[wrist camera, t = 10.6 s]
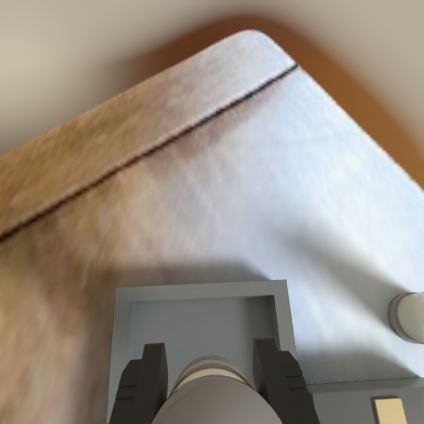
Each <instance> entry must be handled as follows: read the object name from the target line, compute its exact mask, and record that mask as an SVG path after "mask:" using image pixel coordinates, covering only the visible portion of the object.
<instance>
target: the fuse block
mask: <svg viewBox="0 0 424 424" xmlns="http://www.w3.org/2000/svg"><path fill="white" fill-rule="evenodd" d="M306 386H307V390H308V391H309V394H310V397H311V399H312V402H313V405H314V408H315V410H316V413H317V416H318V419H319V421H320V424H424V378H422V377H420V378H404V379H388V380H372V381H356V382H340V383H324V384H308V385H306Z"/></svg>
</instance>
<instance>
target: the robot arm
mask: <svg viewBox="0 0 424 424" xmlns="http://www.w3.org/2000/svg"><path fill="white" fill-rule="evenodd" d="M252 366H253V378H254V384H255V390H256V391H257V392H258V393H259V394H260V395H261V396H262V397H263V398H264V399H265V401H266V402H267V403H268V404H269V405H270V406H271V408H272V409H273V410H274V411H275V413H276V414H277V416H278V417H279V419H280V420H281V422H282V424H320V421H319V419H318V416H317V413H316V410H315V408H314V405H313V402H312V399H311V397H310V394H309V391H308V390H307V386H306V383H305V380H304V378H303V375H302V372H301V369H300V366H299V364H298V361H297V360H296V359H295V358H294V357H293V356H292V354H291V353H290V352H289V351H278V350H277V347H276V344H275V340H274V338H273V337H256V338H254V340H253V364H252ZM167 392H168V366H167V358H166V349H165V343H148V344H145V345H144V349H143V355H142V359H134V360H130V361H129V363H128V364H127V366H126V367H125V369H124V370H123V371H122V374H121V378H120V382H119V386H118V390H117V393H116V397H115V402H114V405H113V409H112V413H111V417H110V421H109V424H152V422H153V420H154V418H155V417H156V415H157V413H158V411H159V410H160V408H161V406H162V405H163V404H164V402H165V401H166V400H167Z"/></svg>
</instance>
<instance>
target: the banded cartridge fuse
mask: <svg viewBox="0 0 424 424" xmlns="http://www.w3.org/2000/svg"><path fill="white" fill-rule="evenodd" d="M152 424H282V422H281V420H280V419H279V417H278V416H277V414H276V413H275V411H274V410H273V409H272V408H271V406H270V405H269V404H268V403H267V402H266V401H265V399H264V398H263V397H262V396H261V395H260V394H259V393H258V392H257V391H256V390H255V389H253V388H252V386H251V385H250V384H249V383H248V381H247V380H246V379H245V377H244V375H243V374H242V372H241V371H240V370H239V369H238V368H237V367H236V365H234V364H233V363H232V362H231V361H229V360H228V359H226V358H223V357H220V356H216V355H206V356H202V357H199V358H197V359H195V360H193V361H191V362H190V363H189V364H188V365H187V366H186V367H185V368H184V369H183V370H182V372H181V373H180V375H179V377H178V378H177V380H176V382H175V385H174V388H173V390H172V392H171V393H170V395H169V397H168V398H167V400H166V401H165V402H164V404H163V405H162V406H161V408H160V410H159V411H158V413H157V415H156V417H155V418H154V420H153V422H152Z"/></svg>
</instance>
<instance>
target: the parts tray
mask: <svg viewBox="0 0 424 424" xmlns="http://www.w3.org/2000/svg"><path fill="white" fill-rule="evenodd" d="M256 337H273V338H274V340H275V344H276V347H277V350H278V351H289V352H290V353H291V354H292V356H293V357H294V358H295V359H296V360H297V354H296V346H295V339H294V332H293V325H292V317H291V310H290V303H289V296H288V289H287V281H286V280H265V281H243V282H222V283H200V284H178V285H157V286H135V287H116V288H115V303H114V318H113V333H112V348H111V363H110V378H109V393H108V407H107V422H106V424H109V421H110V417H111V413H112V409H113V405H114V402H115V397H116V393H117V390H118V386H119V382H120V378H121V374H122V371H123V370H124V369H125V367H126V366H127V364H128V363H129V361H130V360H134V359H142V355H143V349H144V345H145V344H148V343H165V349H166V358H167V366H168V392H167V398H168V397H169V395H170V393H171V392H172V390H173V388H174V385H175V382H176V380H177V378H178V377H179V375H180V373H181V372H182V370H183V369H184V368H185V367H186V366H187V365H188V364H189V363H190V362H191V361H193V360H195V359H197V358H199V357H202V356H206V355H216V356H220V357H223V358H226V359H228V360H229V361H231V362H232V363H233V364H234V365H236V367H237V368H238V369H239V370H240V371H241V372H242V374H243V375H244V377H245V379H246V380H247V381H248V383H249V384H250V385H251V386H252V388H253V389H255V384H254V378H253V366H252V364H253V340H254V338H256Z"/></svg>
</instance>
